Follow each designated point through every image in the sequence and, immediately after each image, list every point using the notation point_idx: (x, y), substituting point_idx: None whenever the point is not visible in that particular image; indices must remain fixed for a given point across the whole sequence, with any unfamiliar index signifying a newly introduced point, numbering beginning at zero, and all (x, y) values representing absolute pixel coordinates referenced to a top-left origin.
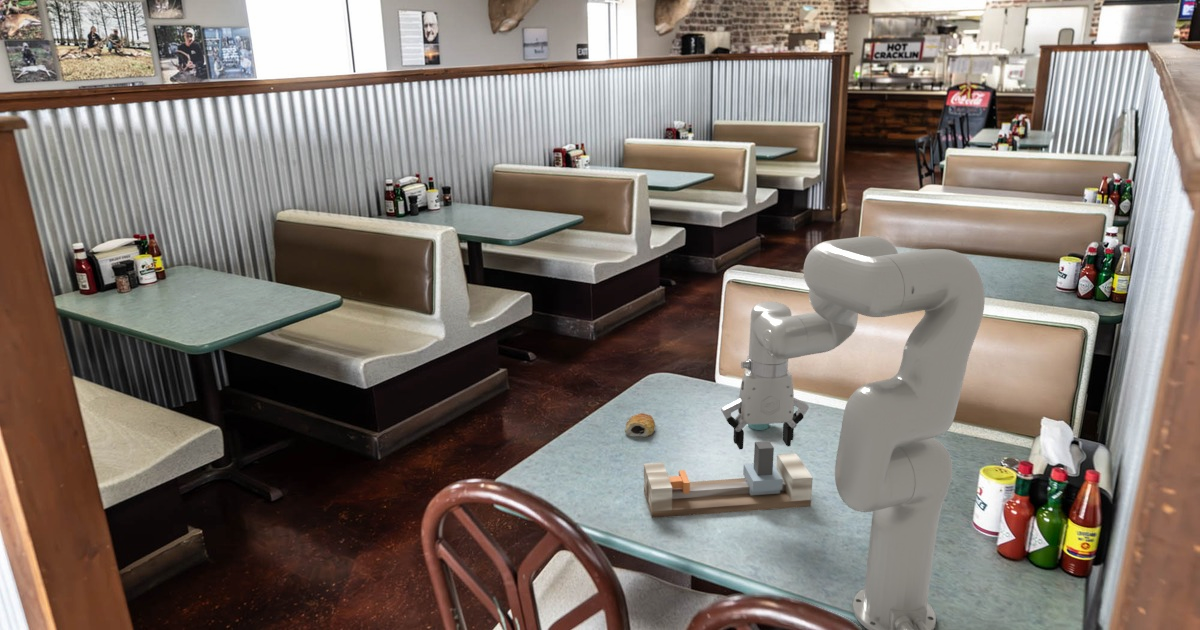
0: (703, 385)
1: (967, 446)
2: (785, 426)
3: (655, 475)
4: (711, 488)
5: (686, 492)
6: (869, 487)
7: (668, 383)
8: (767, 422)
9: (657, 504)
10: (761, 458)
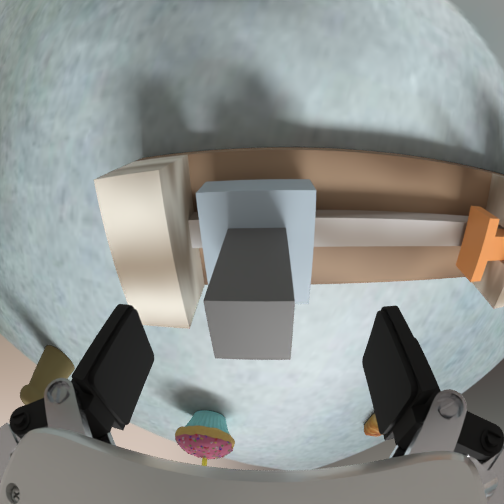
0: (262, 463)
1: None
2: (114, 405)
3: None
4: (414, 225)
5: (478, 207)
6: None
7: (301, 465)
8: (243, 491)
9: None
10: (275, 266)
